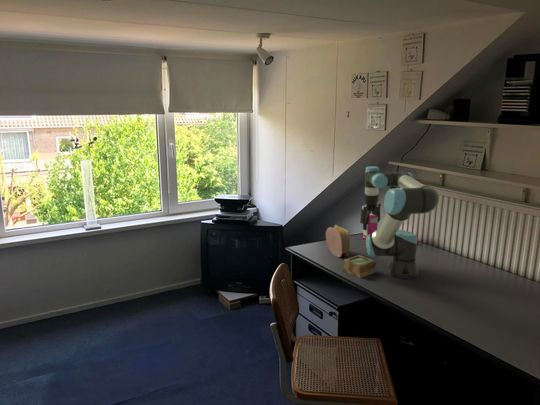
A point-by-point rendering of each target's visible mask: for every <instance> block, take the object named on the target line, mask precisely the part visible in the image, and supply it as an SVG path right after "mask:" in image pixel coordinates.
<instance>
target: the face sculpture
mask: <svg viewBox="0 0 540 405" xmlns="http://www.w3.org/2000/svg"><path fill="white" fill-rule="evenodd" d="M325 240H326V246H327V249H328V250H329V252H330V253H331V254H332V255H334V256H336V257H337V258H339V259H340V258H341V257H348V256H349V254H350V250H351V249H350V248H351V239H350V231H349V230H348V229H345V228H344V227H341V226H338V224H334V226H333V227H331V226H330V227H328V228H327V229H326V232H325Z"/></svg>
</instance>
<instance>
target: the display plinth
mask: <svg viewBox="0 0 540 405" xmlns="http://www.w3.org/2000/svg"><path fill="white" fill-rule="evenodd" d="M376 261H377V260H374V259H371V258H368V257H366V256H363V255H361V254H358V255H357V254H356V255H355V256H351V257H348V258H344V259H343V272H344V273H346V274H349V275H352V276H353V277H356V278H359V279H361V278H364V277H367V276H370V275H373V274H375V273H376V268H377V266H376V264H377V262H376Z"/></svg>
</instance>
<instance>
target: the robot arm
mask: <svg viewBox="0 0 540 405" xmlns="http://www.w3.org/2000/svg"><path fill="white" fill-rule="evenodd" d="M364 174H365V175H364V176H365V177H364V203H365V204H364V205H361V207H360V209H361V212H360V213H361V214H360V220H359V221H360V224H362V234H363V236H365V247H366V252H367V255H368V256H369V257H373V258H374V257H375V258H376V257H380V258H381V257H392V259H391V263H390V265H389V267H388V274H389V275H390V276H392V277H394V278H397V279H401V280H403V279H404V280H410V279H411V280H412V279H413V280H414V279H416V278H418V277H419V272H420V271H419V268H418V264H417V252H418V251H417V248H418V236H417V235H416V233H414V232H411V231H407V230H404V229H403V230H402V229H400V228H401V226H402V224H403V222H404V221H407V220H409V219H410V218H411V215H414V214H417V215H419V214H420V215H421V214H427V213H431V212H432V211H434V210H435V209H436V208H437V206H438V205H439V201H440V195H439V193H438V191H437V190H436V189H435V188H434V187H432V186H430V185H425V184H423V183H421V182H420V181H419V180H416V178H414V175H413V173H412V172H407V171H403V172H380V167H379V166H366V167H365V173H364ZM393 187H395V188H393ZM383 188H390V189H388V191H386V193H385V195H384V200H383V208H384V211H385V212H386V213H385V215H384V217H383V219H382V221H381V206H382V204H381V203H379V194H380V192H379V191H380V190H379V189H383ZM370 214H374V215H376V216H378V223H380V221H381V224H380V225H379V227H378V228H377V230H375V231H374V232H373V234H372V235H371V234H369V235H368V224H367V223H368V217H369V215H370ZM363 230H364V231H363Z"/></svg>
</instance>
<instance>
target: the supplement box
mask: <svg viewBox="0 0 540 405" xmlns="http://www.w3.org/2000/svg"><path fill="white" fill-rule="evenodd" d="M367 224H368V235H369V234H371V235H372V234H373V232H374V231H375V230H377V229H378V224H379V222H378V216H376V215H374V214H372V213H370V215H369V217H368V223H367ZM363 231H364V230H363V229H362V232H363Z"/></svg>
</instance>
